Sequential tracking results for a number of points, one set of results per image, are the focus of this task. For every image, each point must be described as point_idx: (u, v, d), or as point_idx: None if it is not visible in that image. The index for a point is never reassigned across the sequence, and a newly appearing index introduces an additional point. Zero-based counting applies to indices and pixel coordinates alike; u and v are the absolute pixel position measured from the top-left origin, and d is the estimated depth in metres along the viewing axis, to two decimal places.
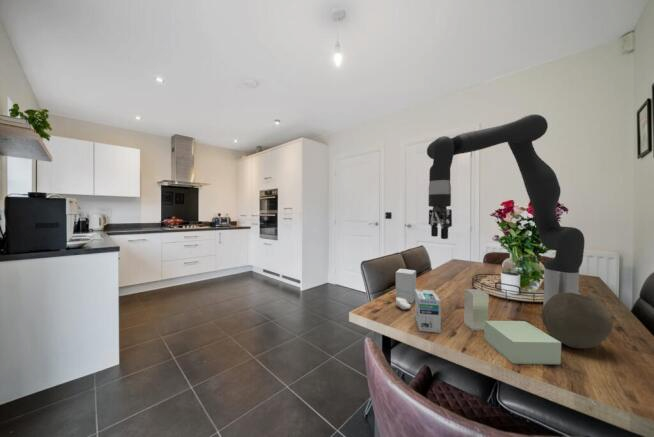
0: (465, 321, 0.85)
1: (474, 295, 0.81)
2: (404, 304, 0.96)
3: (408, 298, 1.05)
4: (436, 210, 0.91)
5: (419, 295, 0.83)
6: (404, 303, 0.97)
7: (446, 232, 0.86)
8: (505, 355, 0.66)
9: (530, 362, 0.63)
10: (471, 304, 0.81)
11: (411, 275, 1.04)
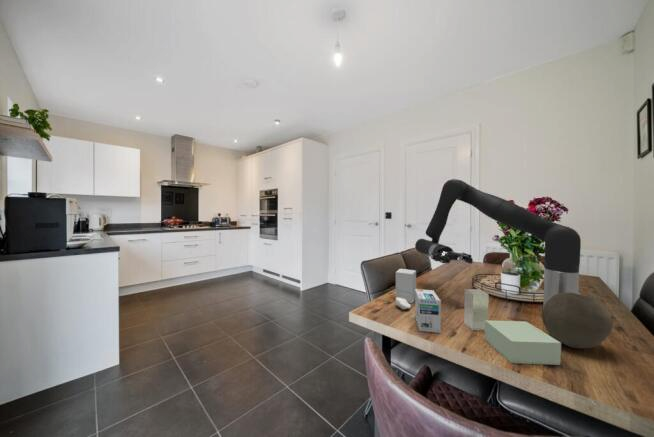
0: (465, 321, 0.85)
1: (474, 295, 0.81)
2: (404, 304, 0.96)
3: (408, 298, 1.05)
4: None
5: (419, 295, 0.83)
6: (404, 303, 0.97)
7: (442, 258, 0.96)
8: (504, 355, 0.66)
9: (529, 362, 0.64)
10: (471, 304, 0.82)
11: (411, 275, 1.04)
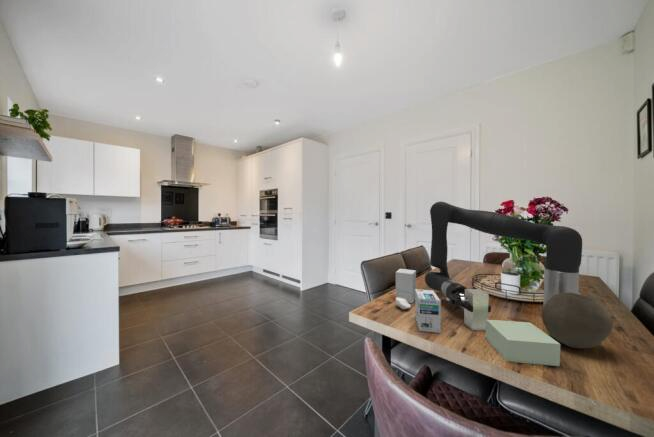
0: (465, 321, 0.85)
1: (474, 295, 0.81)
2: (404, 304, 0.96)
3: (408, 298, 1.05)
4: None
5: (419, 295, 0.83)
6: (404, 303, 0.97)
7: (465, 305, 0.83)
8: (501, 353, 0.67)
9: (526, 361, 0.64)
10: (471, 304, 0.82)
11: (411, 275, 1.04)
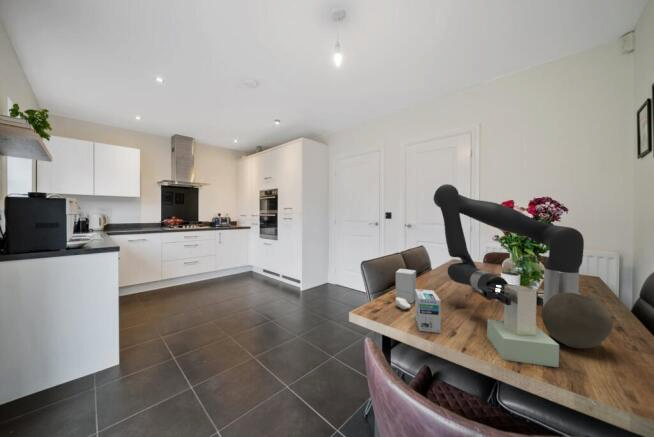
0: (505, 324, 0.71)
1: (519, 292, 0.66)
2: (404, 304, 0.96)
3: (408, 298, 1.05)
4: None
5: (419, 295, 0.83)
6: (404, 303, 0.97)
7: (499, 298, 0.69)
8: (499, 352, 0.68)
9: (523, 361, 0.64)
10: (515, 303, 0.67)
11: (411, 275, 1.04)
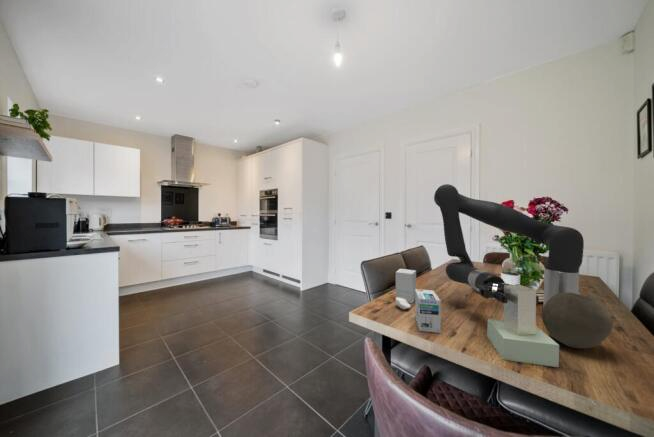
0: (505, 324, 0.71)
1: (519, 292, 0.66)
2: (404, 304, 0.96)
3: (408, 298, 1.05)
4: None
5: (419, 295, 0.83)
6: (404, 303, 0.97)
7: (496, 296, 0.71)
8: (499, 352, 0.68)
9: (523, 361, 0.64)
10: (515, 303, 0.67)
11: (411, 275, 1.04)
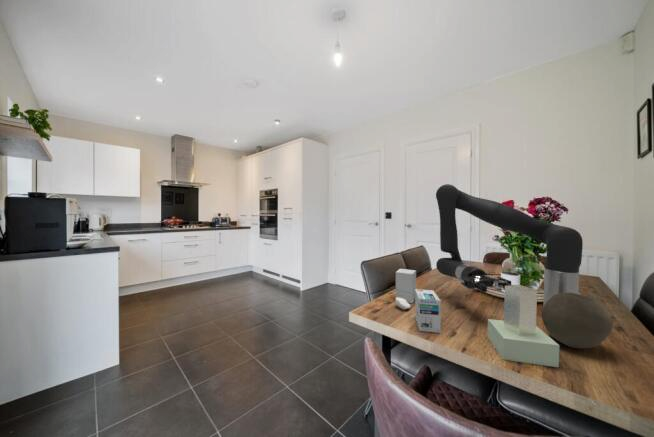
0: (506, 324, 0.71)
1: (521, 292, 0.66)
2: (404, 304, 0.96)
3: (408, 298, 1.05)
4: None
5: (419, 295, 0.83)
6: (404, 303, 0.97)
7: (478, 286, 0.80)
8: (499, 352, 0.68)
9: (523, 361, 0.64)
10: (517, 303, 0.67)
11: (411, 275, 1.04)
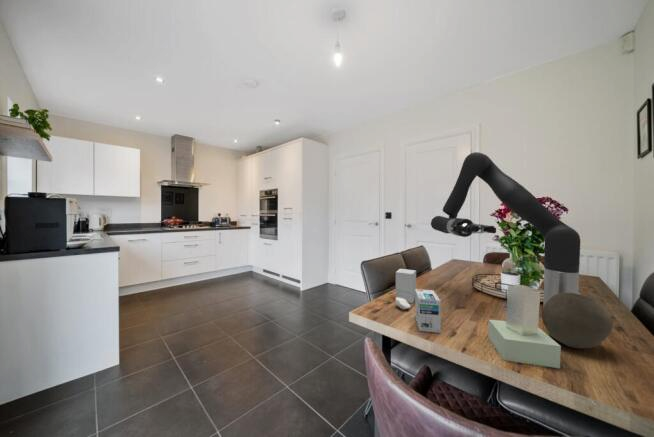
0: (508, 324, 0.70)
1: (526, 293, 0.66)
2: (404, 304, 0.96)
3: (408, 298, 1.05)
4: None
5: (419, 295, 0.83)
6: (404, 303, 0.97)
7: (464, 229, 0.92)
8: (500, 352, 0.68)
9: (524, 361, 0.64)
10: (521, 304, 0.67)
11: (411, 275, 1.04)
